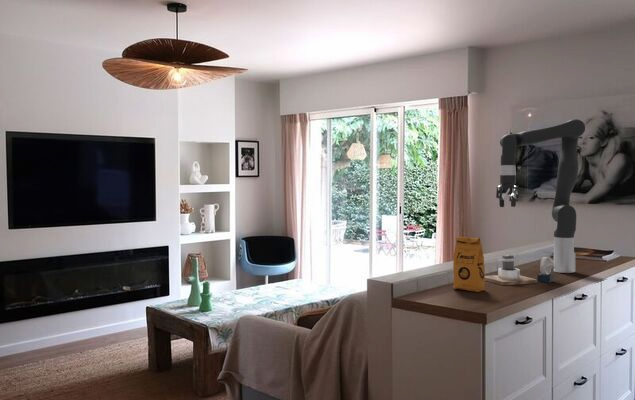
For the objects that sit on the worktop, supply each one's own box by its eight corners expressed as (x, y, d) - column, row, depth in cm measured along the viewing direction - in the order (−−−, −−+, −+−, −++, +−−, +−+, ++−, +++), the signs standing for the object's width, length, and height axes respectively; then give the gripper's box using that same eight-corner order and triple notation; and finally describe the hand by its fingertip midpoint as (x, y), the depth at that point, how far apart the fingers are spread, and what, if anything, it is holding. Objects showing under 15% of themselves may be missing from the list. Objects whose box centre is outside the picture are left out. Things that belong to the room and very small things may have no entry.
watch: (555, 280, 259) (555, 256, 258) (548, 283, 253) (548, 258, 253) (542, 279, 263) (543, 255, 262) (535, 281, 257) (535, 257, 256)
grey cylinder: (509, 276, 262) (508, 254, 261) (516, 278, 257) (516, 255, 257) (500, 277, 260) (499, 255, 259) (507, 279, 255) (507, 256, 255)
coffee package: (476, 293, 230) (476, 239, 230) (449, 289, 239) (449, 237, 239) (489, 290, 237) (489, 237, 237) (462, 286, 246) (462, 235, 246)
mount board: (514, 277, 269) (514, 274, 269) (537, 283, 253) (537, 279, 253) (481, 279, 263) (481, 276, 263) (502, 285, 248) (502, 282, 248)
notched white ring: (511, 275, 264) (511, 267, 264) (523, 279, 255) (523, 270, 255) (494, 276, 261) (494, 268, 261) (506, 280, 253) (506, 271, 252)
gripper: (504, 174, 280) (504, 207, 280) (523, 174, 288) (523, 206, 288) (492, 174, 286) (492, 207, 287) (511, 174, 294) (510, 206, 294)
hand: (507, 206), depth 287 cm, fingers open, 8 cm apart
